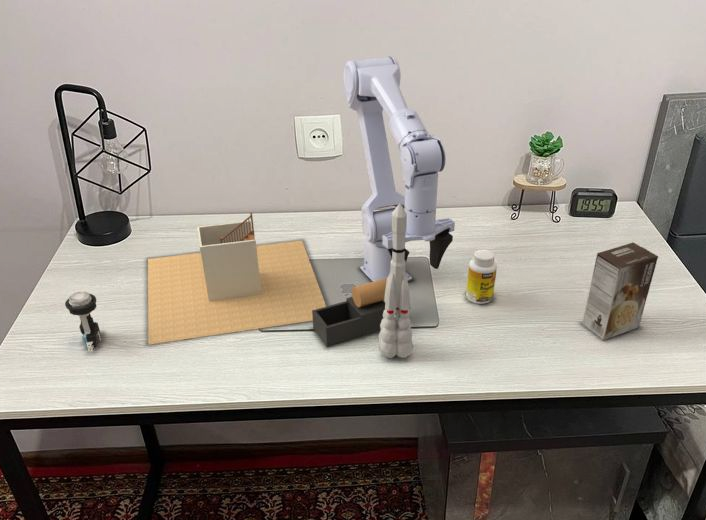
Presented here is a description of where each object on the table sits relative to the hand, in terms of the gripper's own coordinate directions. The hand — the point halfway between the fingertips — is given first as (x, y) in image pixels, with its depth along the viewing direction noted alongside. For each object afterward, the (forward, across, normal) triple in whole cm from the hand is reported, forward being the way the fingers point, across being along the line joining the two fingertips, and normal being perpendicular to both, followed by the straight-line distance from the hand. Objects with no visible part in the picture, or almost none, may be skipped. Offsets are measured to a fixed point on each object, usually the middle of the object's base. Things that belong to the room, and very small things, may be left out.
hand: (417, 271), depth 134 cm
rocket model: (+10, -10, -9) cm, 17 cm away
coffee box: (+10, +31, -22) cm, 39 cm away
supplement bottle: (+10, +14, -2) cm, 17 cm away
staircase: (+10, -29, +27) cm, 40 cm away
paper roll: (+2, -9, +1) cm, 10 cm away
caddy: (+10, -14, +1) cm, 17 cm away
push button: (+10, -59, +21) cm, 63 cm away
